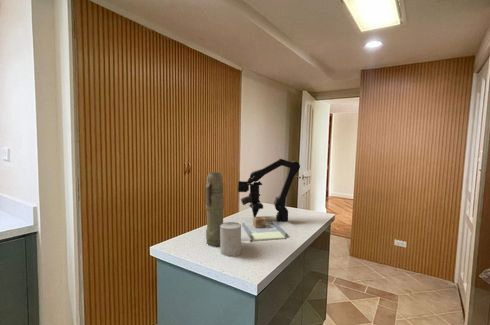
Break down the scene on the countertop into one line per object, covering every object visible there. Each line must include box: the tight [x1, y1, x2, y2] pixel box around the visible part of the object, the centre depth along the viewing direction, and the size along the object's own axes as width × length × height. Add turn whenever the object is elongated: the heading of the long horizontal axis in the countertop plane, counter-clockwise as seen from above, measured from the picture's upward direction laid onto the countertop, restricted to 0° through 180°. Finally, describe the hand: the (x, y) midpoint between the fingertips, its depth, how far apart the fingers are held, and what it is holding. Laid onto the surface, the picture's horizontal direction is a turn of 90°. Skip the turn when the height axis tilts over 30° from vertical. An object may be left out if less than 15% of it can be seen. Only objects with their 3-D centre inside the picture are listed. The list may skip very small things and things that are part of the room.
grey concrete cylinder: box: [219, 221, 242, 257], centre depth 121 cm, size 10×10×12 cm
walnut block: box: [252, 215, 267, 228], centre depth 154 cm, size 6×6×5 cm
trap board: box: [241, 220, 288, 243], centre depth 146 cm, size 22×19×3 cm
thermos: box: [205, 171, 225, 247], centre depth 131 cm, size 9×12×35 cm
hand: (254, 216), depth 166 cm, fingers closed
